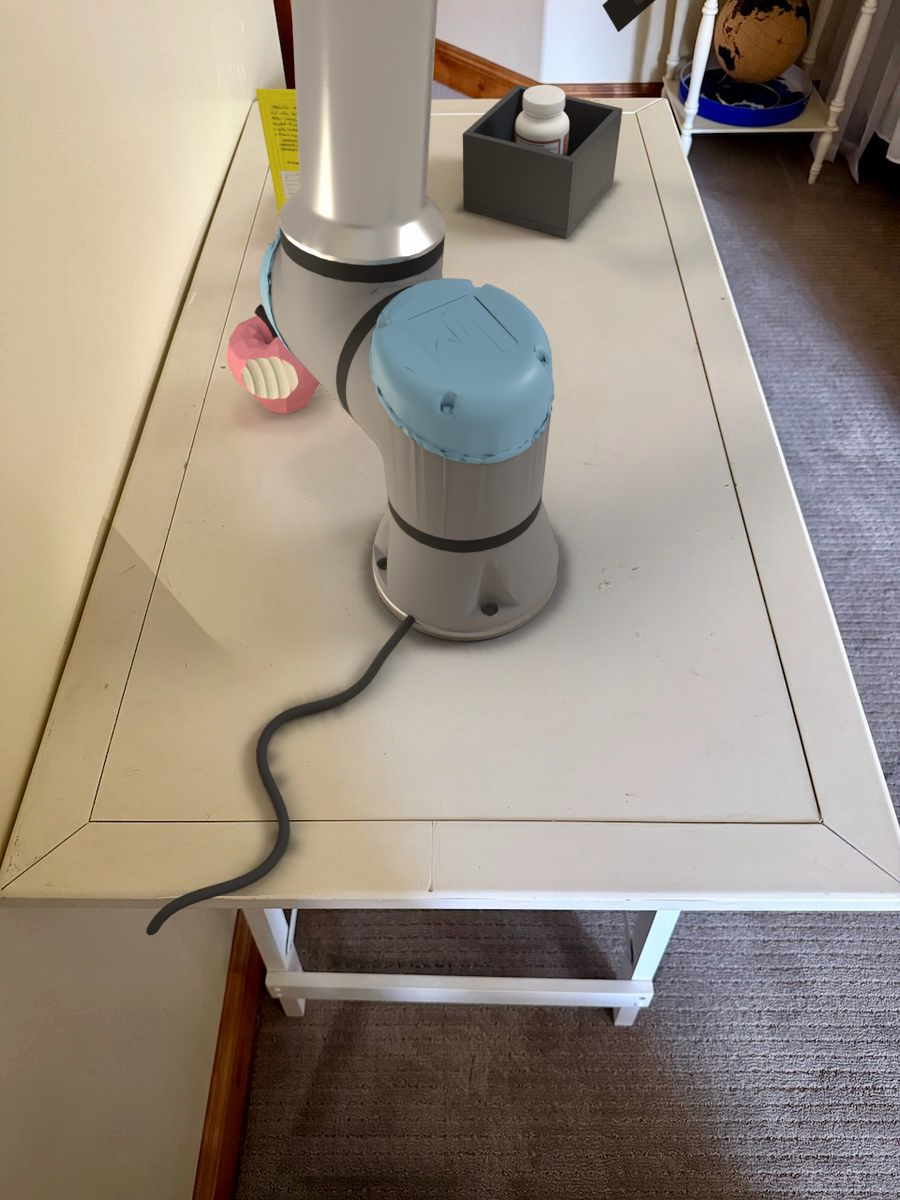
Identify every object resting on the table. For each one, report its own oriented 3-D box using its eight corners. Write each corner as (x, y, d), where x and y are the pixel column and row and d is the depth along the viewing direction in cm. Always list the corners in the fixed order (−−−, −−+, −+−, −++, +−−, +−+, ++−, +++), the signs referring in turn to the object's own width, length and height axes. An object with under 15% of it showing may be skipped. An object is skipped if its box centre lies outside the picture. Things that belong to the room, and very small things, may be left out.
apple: (229, 427, 85) (204, 340, 77) (254, 369, 90) (233, 281, 82) (327, 436, 84) (312, 348, 76) (347, 376, 90) (335, 288, 82)
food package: (427, 281, 99) (418, 90, 83) (426, 287, 98) (417, 95, 82) (291, 275, 100) (256, 86, 84) (289, 281, 100) (254, 91, 84)
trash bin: (566, 238, 104) (573, 161, 96) (463, 209, 108) (462, 133, 101) (613, 184, 111) (622, 108, 103) (514, 158, 115) (517, 84, 108)
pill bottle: (535, 172, 111) (541, 76, 102) (574, 189, 108) (583, 92, 99) (502, 191, 108) (504, 95, 99) (541, 210, 105) (547, 112, 97)
